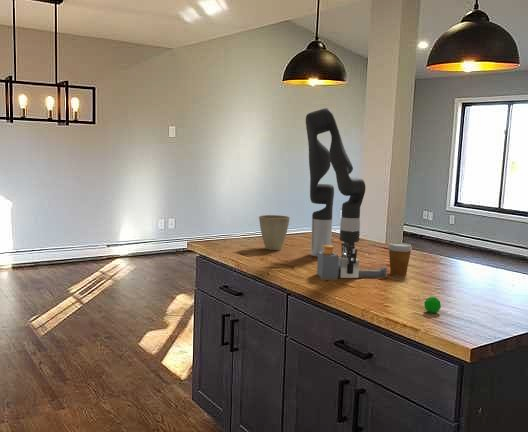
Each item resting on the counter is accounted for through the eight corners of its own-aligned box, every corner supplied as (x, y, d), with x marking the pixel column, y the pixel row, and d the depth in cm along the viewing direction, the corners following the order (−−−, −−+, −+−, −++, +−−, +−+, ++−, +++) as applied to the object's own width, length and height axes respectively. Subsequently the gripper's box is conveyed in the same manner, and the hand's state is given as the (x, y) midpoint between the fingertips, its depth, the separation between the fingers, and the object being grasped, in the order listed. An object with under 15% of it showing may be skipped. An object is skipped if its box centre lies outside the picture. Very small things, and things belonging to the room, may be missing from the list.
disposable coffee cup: (411, 272, 233) (413, 243, 231) (409, 277, 224) (411, 247, 222) (387, 270, 236) (389, 241, 234) (384, 274, 227) (386, 245, 225)
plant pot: (294, 248, 279) (295, 216, 277) (278, 253, 266) (279, 219, 264) (268, 245, 287) (269, 214, 285) (252, 249, 274) (253, 216, 272)
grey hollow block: (317, 273, 224) (317, 251, 223) (331, 274, 225) (332, 251, 224) (322, 279, 215) (323, 255, 214) (337, 279, 216) (338, 256, 215)
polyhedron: (423, 309, 178) (424, 294, 178) (440, 311, 177) (441, 296, 176) (423, 313, 174) (424, 298, 173) (440, 315, 172) (441, 300, 172)
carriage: (337, 274, 223) (338, 257, 222) (354, 274, 224) (355, 257, 223) (340, 277, 218) (341, 260, 217) (358, 277, 219) (359, 260, 218)
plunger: (321, 256, 221) (321, 244, 220) (332, 256, 221) (332, 245, 221) (323, 258, 216) (324, 246, 216) (334, 258, 217) (335, 246, 216)
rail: (333, 275, 222) (334, 265, 221) (383, 276, 224) (383, 266, 224) (335, 277, 219) (335, 267, 218) (385, 277, 221) (386, 267, 221)
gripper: (335, 226, 225) (333, 267, 227) (345, 231, 211) (343, 276, 213) (354, 226, 226) (352, 268, 228) (365, 231, 212) (362, 276, 214)
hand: (347, 271), depth 221 cm, fingers closed on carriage, 5 cm apart
